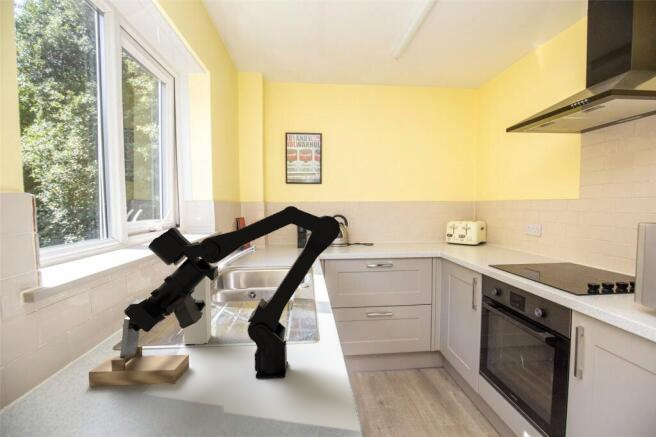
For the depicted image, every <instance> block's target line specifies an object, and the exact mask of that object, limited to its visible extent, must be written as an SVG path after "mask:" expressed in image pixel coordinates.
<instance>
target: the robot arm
mask: <svg viewBox="0 0 656 437" xmlns="http://www.w3.org/2000/svg"><path fill="white" fill-rule="evenodd" d="M290 225H293V226H297V227H299V228H300V229H301V228H302V229H303V230H306V231H308V232H309V235H308V236H307V240H306V242H305V245H304V247H303V248H302V250H301V251H300V253H299V254H298V256H297V257H296V259H295V260H294V262H293V264H292V265H291V266H290V268H289V270H288V271H287V273H286V274H285V276H284V277H283V279H282V280H281V281H280V283H279V285H278V286H277V288H276V289H275V291H274V293H273V294H272V295H271V297H269V298H268V299H267V300H265V299H264V298H261V299H260V301H259V303H258V305H257V306H256V308H255V309H254V310H253V311H252V312H251V314H250V316H249V317H248V320H247V322H248V323H249V324H248V327H247V335H248V337H249V339H250V340H251V341H252V342H254V343H255V346H256V349H255V352H254V371H255V378H256V379H267V378H269V379H271V378H272V379H275V378H276V379H278V378H285V377H286V375H287V369H288V366H289V361H288V355H287V351H288V350H287V348H288V346H287V340H285V335H286V329H287V328H286V327H285V326H284V325H283V324H282V323H281V322H280V320H281V317H282V316H283V313H284V310H285V308H286V306H287V304H289V302H290V300H291V298H292V297H293V295H294V294H295V293H296V291H297V289H298V288H299V286H300V285H301V283H302V282H303V280H304V278H305V277H306V275H307V274H308V272H309V271H310V270H311V268H312V266H313V265H314V264H315V262H316V260H317V258H318V257H319V256H320V255H321V254H322V253H324V252H325V251H326V250H327V249H328V248H329V247H330V246H331V244H333V242H335V240H337V238H338V237H339V235H340V233H341V226H340V223H339V221H338V220H337V219H336V218H335V217H333V216H331V215H322V216H317V215H315V214H312V213H310V212H307V211H305V210H304V211H303V210H302V209H299V208H298V207H296V206H293V205H290V206H286V207H285V208H283V209H282V210H279V211H278V212H275V213H273V214H270V215H269V216H266V217H264V218H262V219H259V220H257V221H255V222H252V223H250V224H249V225H246V226H243V227H241V228H239V229H236V230H233V231H232V230H231V231H228V232H224V233H220V234H217V235H213V236H210V237H209V236H208V237H205V238H204V239H203V240H201V242H199V241H194V242H191V241H189V239H187V238H186V237H185V236H184V235H183V234H182V233H181V232H180V230H179V229H178V228H177V227H173V226H172V227H170V228H169V229H168V230H167V231H166V230H165V232H163V233H161V234H160V235H158V236H157V237H155V238H153V240H152V241H151V242H150V243H149V244H148V247H147V248H148V249H149V250H150V251H151V252H153V254H155V256H156V257H158V259H160V260H161V261H162V262H163V263H164V264H165V265H166V266H171V265H174V266H178V265H179V264H180V265H179V266H178V267H177V268H176V269H175V270H174V271H173V272H172V273H171V274H170V275H168V276H166V277H165V278H164V279H163V283H161V284H160V285H159V286H158V287H157V288H155V289H153V290H152V291H151V292H150V293H149V294H150V295H151V296H149V297H148V298H147V297H146V298H139V299H137V300H135V301H134V302H132V303H130V304H129V305H128V306H127V307H126V308H125V309H124V310H123V312H124V315H126V316H127V317H129V318H130V319H131V320H132V321H133V322H134V323H135V324H134V327H133V329H134V330H135V331H138V330H143V332H146V333H149V332H150V331H151V330H152V329H155V327H157V325H159V324H160V323H161V322H163V321H164V320H165V319H166V317H167V316H170V315H172V314H173V313H174V316H175V318H176V319H177V322H178V323H179V327H180V328H181V329H183V330H184V328H186V327H188V326H190V325H192V324H194V323H196V322H197V321H198V320H199V319H200V318H201V317H202V314H203V312H201V311H202V310H203V308H204V307H205V306H206V304H205V302H204V300H196V299H193V298H192V296H191V294H192V293H193V292H194V289H195V287H196V286H197V285H198V284H199V283H200V282H201V281H202V280H203V279H204V278H205V277H206V276H207V277H208V278H209V279H210V281H214V280H215V279H217V278H218V277H219V266H218V265H215V266H214V265H211V264H217V263H219V262H221V261H222V260H225V259H226V258H227V257H228V256H230V255H232V254H234V253H235V252H237V251H238V250H239V249H240V248H242V247H243V246H245V245H247V244H249V243H251V242H253V241H256V240H258V239H260V238H262V237H265V236H266V235H267V236H268V235H269V234H271V233H274V232H276V231H278V230H279V229H283V228H285V227H287V226H290Z"/></svg>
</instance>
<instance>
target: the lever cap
mask: <svg viewBox="0 0 656 437" xmlns="http://www.w3.org/2000/svg"><path fill="white" fill-rule="evenodd" d="M134 324H135V323H134V322H133V321H132V320H131V319H130V318H129V317H128V316H127V317H125V318H124V319H123V323H122V336H121V347H120V354H119V356H120V358H125V364H126V363H127V362H128V361H130V360H131V359H132V358H133V357H135V356H136V355H137V348H138V346H139V338H140V330H141V329H140V330H138V331H135V330H134V329H133V327H134Z"/></svg>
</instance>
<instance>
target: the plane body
mask: <svg viewBox="0 0 656 437" xmlns="http://www.w3.org/2000/svg"><path fill="white" fill-rule="evenodd" d="M189 355H190V354H160V355H156V354H155V355H153V354H152V355H143V345H138V348H137V355H136V356H135V357H133V358H132V359H131V360H130V361H128V362H127V363H126V364H125V358H120V355H111V356H109V357H108V358H107V359H105V360H104V361H102V362H101V363H100V364H97V365H96V366H95V367H93V368H92V369H91V370H89V371H88V386H90V387H91V386H96V387H97V386H134V385H135V386H136V385H137V386H138V385H145V386H147V385H175V384H176V383H177V382H178V381H179V380H180V379H181V377H183V375H184V374H185V373H186V371H187V370H188V369H189V368H190V356H189Z"/></svg>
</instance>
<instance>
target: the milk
mask: <svg viewBox="0 0 656 437" xmlns="http://www.w3.org/2000/svg"><path fill="white" fill-rule="evenodd" d="M211 291H212V290H211V280H210V279H209V278H208V277H207V276H206V277H205V278H204V279H203V280H202V281H201V282H200V283H199V284H198V285H197V286H196V287H195V289H194V292H193V293H192V294H191V296H192V298H193V299H196V300H204V302H205V304H206V306H205V307H204V308H203V310H202V311H201V312H203V314H202V317H201V318H200V319H199V320H198V321H197V322H196V323H194V324H192V325H190V326H188V327H186V328H184V329H183V338H184V339H183V341H184V343H183V344H184V346H187V345H186V344H195V345H205V344H204V343H207V344H208V343H209V340H210V338H211V337H212V305H211V304H212V296H211Z"/></svg>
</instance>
